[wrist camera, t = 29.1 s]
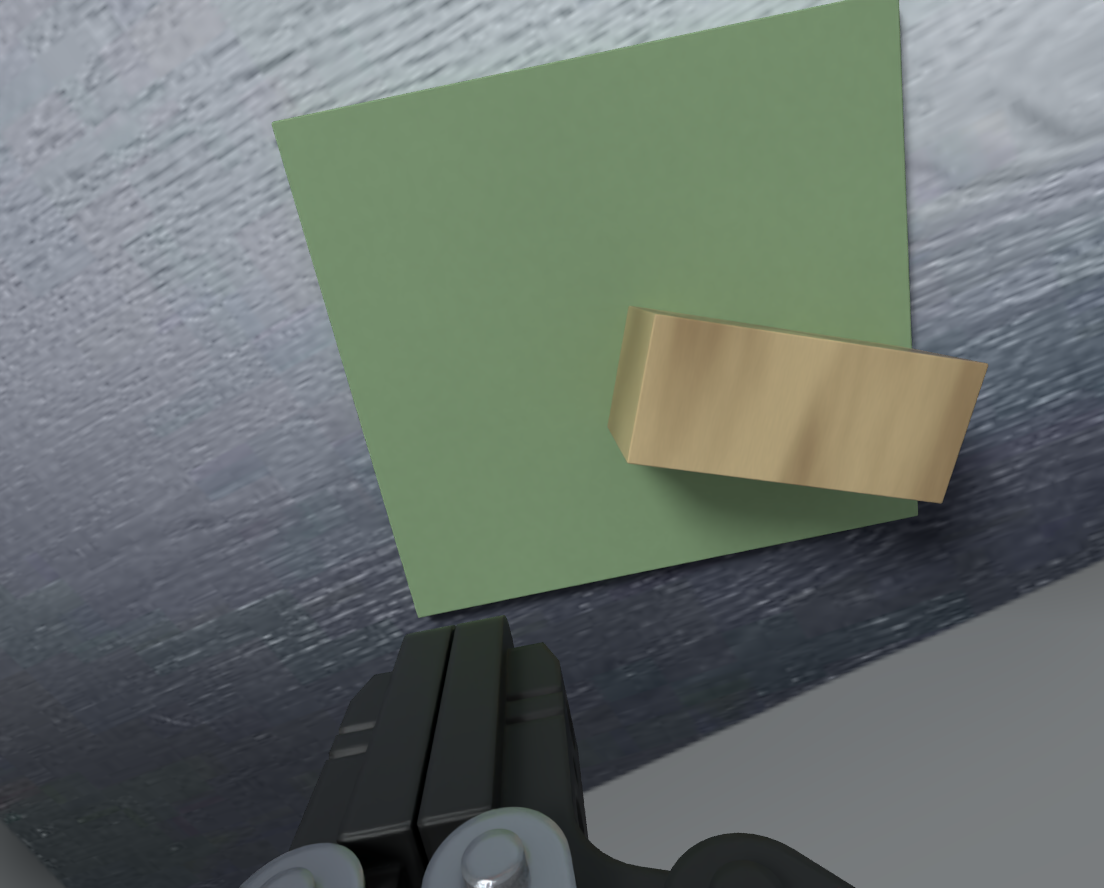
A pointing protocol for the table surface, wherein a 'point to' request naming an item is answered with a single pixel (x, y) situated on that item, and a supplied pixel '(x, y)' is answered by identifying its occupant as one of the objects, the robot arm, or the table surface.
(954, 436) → the block
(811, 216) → the mat
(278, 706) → the table surface
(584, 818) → the robot arm
